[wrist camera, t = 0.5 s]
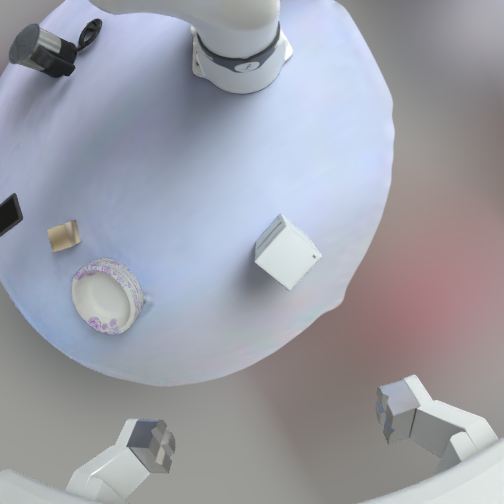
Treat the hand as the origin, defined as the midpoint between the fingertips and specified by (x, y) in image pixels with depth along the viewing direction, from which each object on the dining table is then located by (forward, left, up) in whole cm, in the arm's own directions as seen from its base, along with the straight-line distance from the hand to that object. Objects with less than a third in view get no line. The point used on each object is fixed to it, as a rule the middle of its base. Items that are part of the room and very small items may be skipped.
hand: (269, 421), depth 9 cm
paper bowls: (+8, -33, -46) cm, 57 cm away
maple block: (-6, -41, -46) cm, 62 cm away
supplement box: (+5, +3, -46) cm, 46 cm away
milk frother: (-48, -32, -46) cm, 74 cm away
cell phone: (-16, -63, -46) cm, 80 cm away
